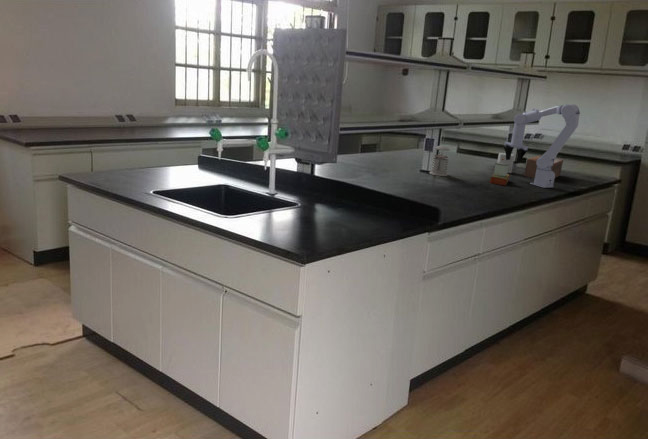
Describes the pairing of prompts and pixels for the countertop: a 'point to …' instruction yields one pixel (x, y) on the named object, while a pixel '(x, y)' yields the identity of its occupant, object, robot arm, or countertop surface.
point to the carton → (499, 179)
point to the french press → (440, 162)
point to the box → (501, 169)
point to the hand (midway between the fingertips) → (513, 161)
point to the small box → (506, 161)
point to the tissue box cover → (532, 167)
